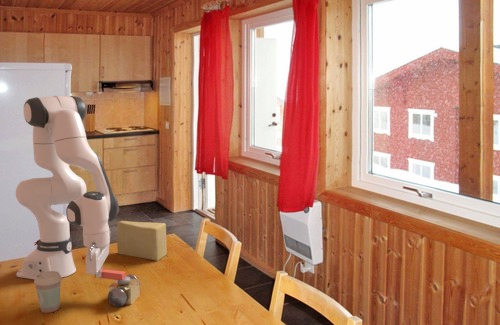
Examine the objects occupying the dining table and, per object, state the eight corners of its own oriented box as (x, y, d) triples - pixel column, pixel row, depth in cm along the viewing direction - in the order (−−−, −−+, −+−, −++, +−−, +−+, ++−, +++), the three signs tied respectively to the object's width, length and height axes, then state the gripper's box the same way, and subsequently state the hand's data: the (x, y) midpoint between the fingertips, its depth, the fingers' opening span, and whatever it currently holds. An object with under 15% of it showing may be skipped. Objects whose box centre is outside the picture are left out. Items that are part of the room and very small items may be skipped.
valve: (106, 306, 170) (105, 288, 169) (121, 290, 183) (120, 274, 182) (128, 308, 169) (127, 289, 168) (142, 292, 182) (141, 275, 181)
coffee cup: (41, 303, 172) (38, 270, 171) (66, 302, 173) (64, 269, 171) (32, 315, 164) (29, 280, 162) (59, 314, 165) (56, 279, 163)
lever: (132, 280, 176) (132, 270, 176) (126, 285, 172) (125, 275, 172) (100, 276, 180) (99, 267, 180) (93, 281, 176) (92, 271, 175)
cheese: (112, 256, 219) (110, 223, 217) (124, 249, 229) (122, 218, 226) (157, 262, 213) (156, 228, 210) (167, 254, 222) (166, 221, 220)
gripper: (99, 248, 163) (101, 288, 165) (111, 230, 183) (113, 266, 185) (79, 248, 162) (82, 289, 164) (93, 230, 182) (96, 267, 185)
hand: (98, 276), depth 175 cm, fingers closed
